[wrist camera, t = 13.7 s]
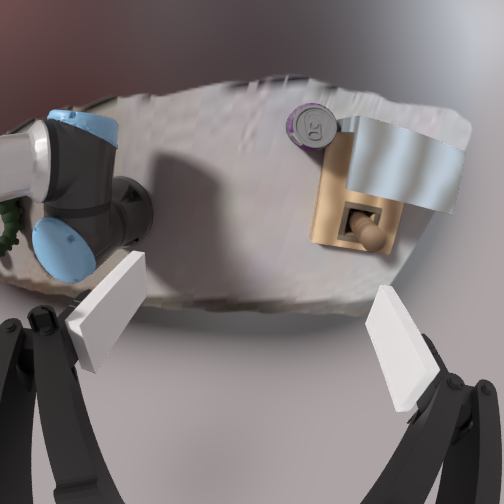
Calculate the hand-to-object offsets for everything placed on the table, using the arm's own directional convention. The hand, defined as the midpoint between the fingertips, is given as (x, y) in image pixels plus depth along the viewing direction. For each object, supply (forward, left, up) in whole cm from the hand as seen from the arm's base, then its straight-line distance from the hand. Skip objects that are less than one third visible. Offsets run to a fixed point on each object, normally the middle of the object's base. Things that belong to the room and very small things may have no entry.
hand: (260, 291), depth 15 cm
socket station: (+17, +1, -39) cm, 42 cm away
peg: (+17, -5, -39) cm, 43 cm away
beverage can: (+5, +10, -39) cm, 40 cm away
